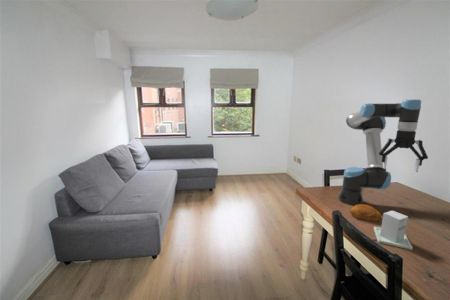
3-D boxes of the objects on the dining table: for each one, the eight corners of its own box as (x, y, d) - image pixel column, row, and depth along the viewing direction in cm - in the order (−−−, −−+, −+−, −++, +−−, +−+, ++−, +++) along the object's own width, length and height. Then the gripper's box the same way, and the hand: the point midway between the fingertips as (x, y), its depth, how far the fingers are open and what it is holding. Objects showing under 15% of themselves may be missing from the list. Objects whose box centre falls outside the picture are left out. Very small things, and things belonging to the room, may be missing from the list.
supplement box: (395, 243, 103) (399, 219, 101) (379, 235, 110) (382, 212, 107) (404, 239, 106) (408, 216, 103) (388, 231, 113) (392, 209, 110)
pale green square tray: (373, 228, 117) (373, 226, 116) (403, 234, 111) (404, 232, 111) (378, 242, 105) (378, 240, 105) (412, 250, 100) (412, 247, 99)
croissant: (379, 228, 121) (384, 216, 119) (348, 217, 128) (352, 206, 126) (377, 216, 133) (381, 205, 131) (349, 207, 140) (352, 196, 138)
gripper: (378, 129, 113) (373, 168, 117) (442, 132, 102) (433, 174, 107) (376, 128, 119) (370, 165, 124) (435, 130, 109) (427, 170, 113)
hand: (399, 169), depth 115 cm, fingers open, 13 cm apart
